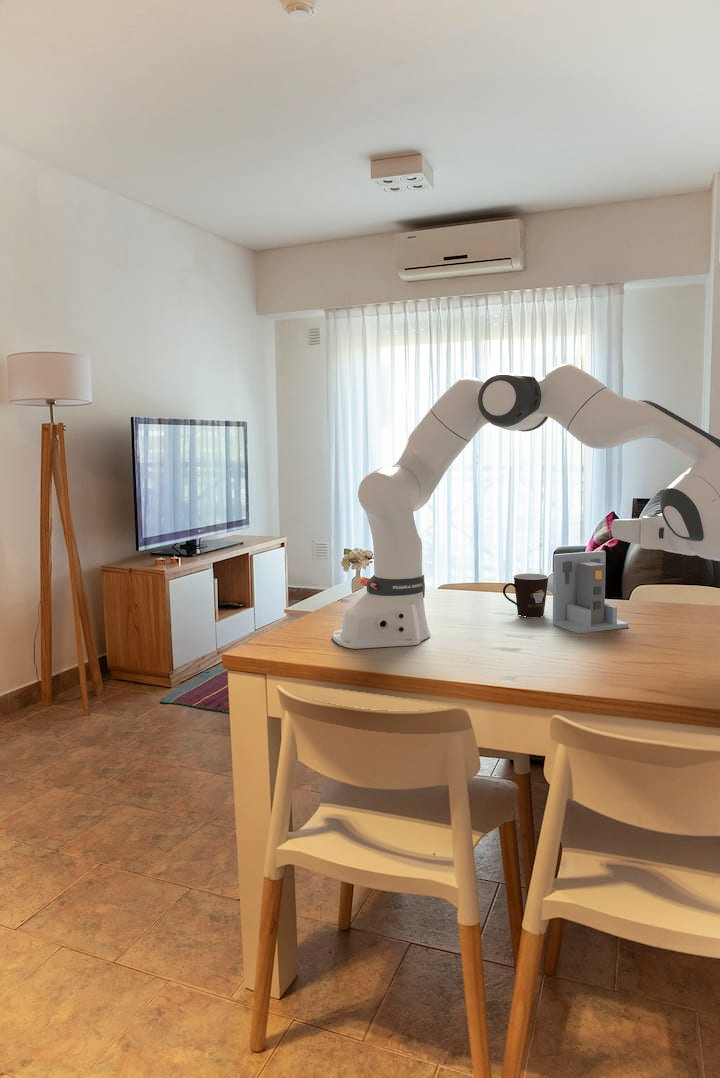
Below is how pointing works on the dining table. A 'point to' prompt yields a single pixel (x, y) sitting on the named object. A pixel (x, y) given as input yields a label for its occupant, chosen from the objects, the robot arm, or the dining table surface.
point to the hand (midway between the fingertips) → (633, 523)
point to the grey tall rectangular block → (591, 589)
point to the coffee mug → (529, 594)
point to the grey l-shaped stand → (566, 595)
